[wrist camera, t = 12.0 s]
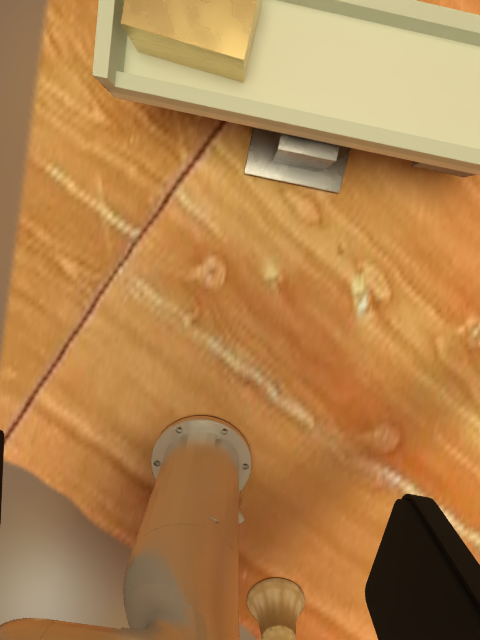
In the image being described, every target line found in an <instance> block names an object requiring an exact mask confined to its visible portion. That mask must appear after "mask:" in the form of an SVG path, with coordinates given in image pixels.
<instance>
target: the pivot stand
mask: <svg viewBox="0 0 480 640" xmlns="http://www.w3.org/2000/svg"><path fill="white" fill-rule="evenodd" d="M349 151H350V148H349V147H345V146H340V145H335V144H331V143H326V142H321V141H317V140H312V139H307V138H302V137H298V136H293V135H288V134H284V133H279V132H274V131H270V130H265V129H260V128H256V127H253V131H252V136H251V141H250V147H249V152H248V158H247V163H246V168H245V174H246V175H251V176H255V177H260V178H265V179H270V180H275V181H279V182H284V183H289V184H294V185H299V186H303V187H308V188H313V189H318V190H323V191H328V192H332V193H339V192H340V188H341V183H342V179H343V175H344V171H345V167H346V163H347V159H348V155H349Z"/></svg>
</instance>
